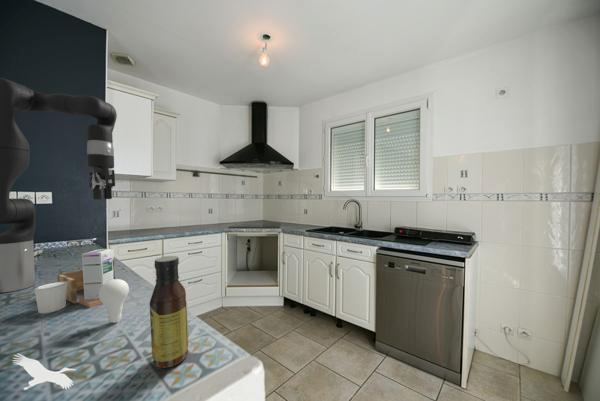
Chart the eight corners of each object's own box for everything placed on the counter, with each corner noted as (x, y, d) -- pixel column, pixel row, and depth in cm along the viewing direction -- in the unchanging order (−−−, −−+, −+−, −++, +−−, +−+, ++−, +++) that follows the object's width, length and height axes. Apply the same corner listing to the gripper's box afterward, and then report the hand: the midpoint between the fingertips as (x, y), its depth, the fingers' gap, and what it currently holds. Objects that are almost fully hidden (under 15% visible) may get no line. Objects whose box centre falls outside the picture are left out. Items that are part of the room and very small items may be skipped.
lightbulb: (135, 318, 64) (134, 276, 64) (110, 330, 58) (109, 285, 58) (119, 315, 66) (118, 275, 66) (93, 326, 60) (92, 282, 60)
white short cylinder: (47, 315, 67) (46, 290, 67) (28, 313, 69) (27, 288, 68) (74, 304, 74) (73, 281, 74) (57, 303, 75) (56, 280, 75)
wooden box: (58, 295, 81) (57, 274, 81) (95, 285, 90) (95, 267, 90) (73, 303, 75) (72, 280, 75) (112, 291, 84) (111, 271, 84)
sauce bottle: (162, 350, 50) (159, 254, 50) (193, 348, 50) (190, 252, 50) (144, 373, 43) (140, 262, 43) (180, 370, 44) (177, 261, 44)
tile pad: (79, 302, 75) (78, 298, 75) (110, 293, 82) (110, 289, 82) (89, 307, 71) (89, 303, 71) (122, 297, 78) (121, 293, 78)
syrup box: (103, 299, 74) (101, 252, 74) (83, 300, 74) (81, 252, 74) (116, 292, 80) (114, 248, 80) (97, 293, 80) (96, 248, 79)
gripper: (79, 155, 88) (81, 199, 89) (96, 150, 81) (98, 199, 81) (104, 158, 95) (105, 199, 95) (122, 154, 88) (123, 198, 88)
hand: (102, 199), depth 88 cm, fingers open, 8 cm apart
